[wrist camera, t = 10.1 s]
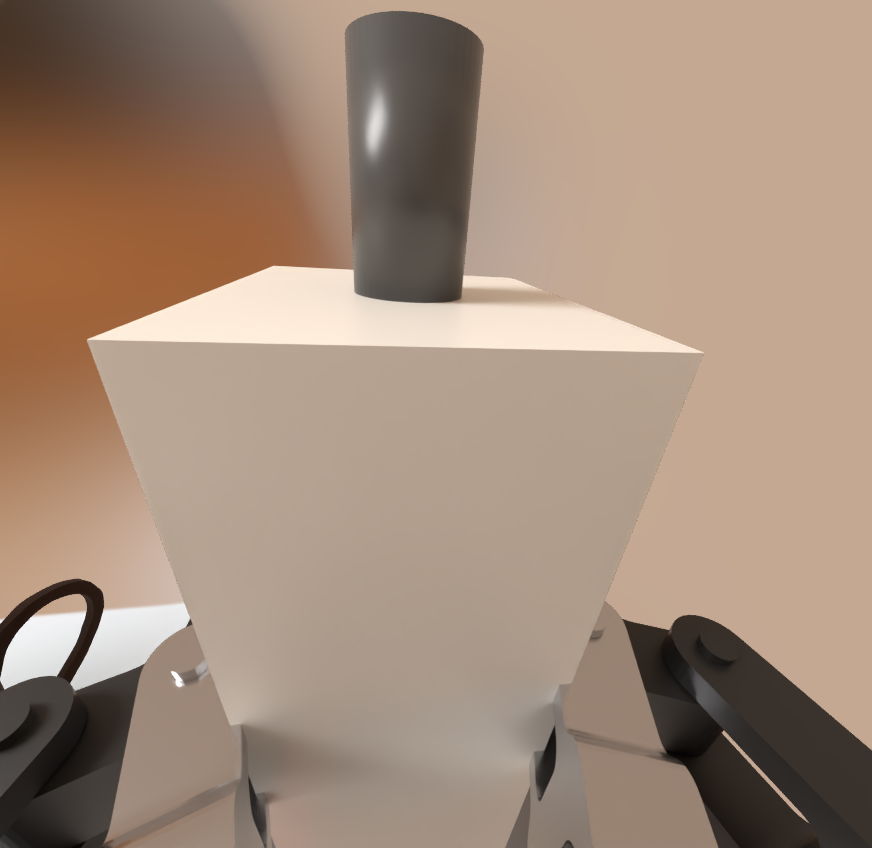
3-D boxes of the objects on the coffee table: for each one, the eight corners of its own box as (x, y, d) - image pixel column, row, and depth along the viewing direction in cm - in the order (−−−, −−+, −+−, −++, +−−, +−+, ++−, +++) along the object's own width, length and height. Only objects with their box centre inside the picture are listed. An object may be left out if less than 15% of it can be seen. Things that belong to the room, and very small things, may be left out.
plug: (304, 925, 9) (-166, -342, 1) (328, 694, 13) (251, 94, 6) (488, 888, 10) (884, -91, 2) (453, 679, 14) (534, 127, 6)
